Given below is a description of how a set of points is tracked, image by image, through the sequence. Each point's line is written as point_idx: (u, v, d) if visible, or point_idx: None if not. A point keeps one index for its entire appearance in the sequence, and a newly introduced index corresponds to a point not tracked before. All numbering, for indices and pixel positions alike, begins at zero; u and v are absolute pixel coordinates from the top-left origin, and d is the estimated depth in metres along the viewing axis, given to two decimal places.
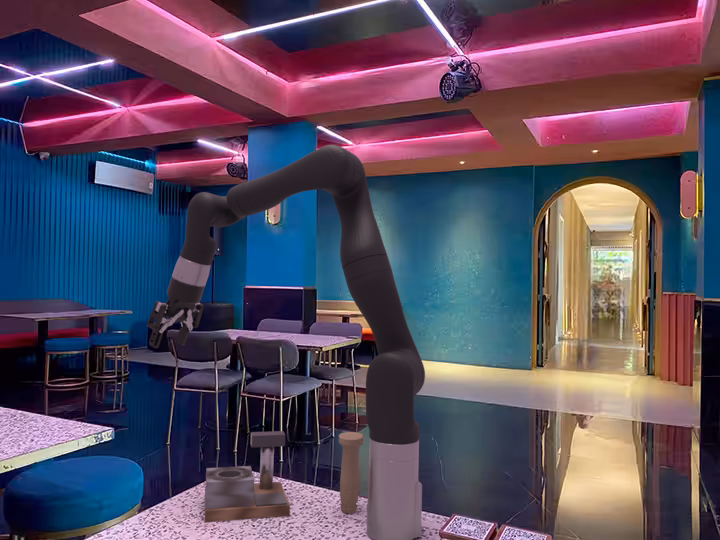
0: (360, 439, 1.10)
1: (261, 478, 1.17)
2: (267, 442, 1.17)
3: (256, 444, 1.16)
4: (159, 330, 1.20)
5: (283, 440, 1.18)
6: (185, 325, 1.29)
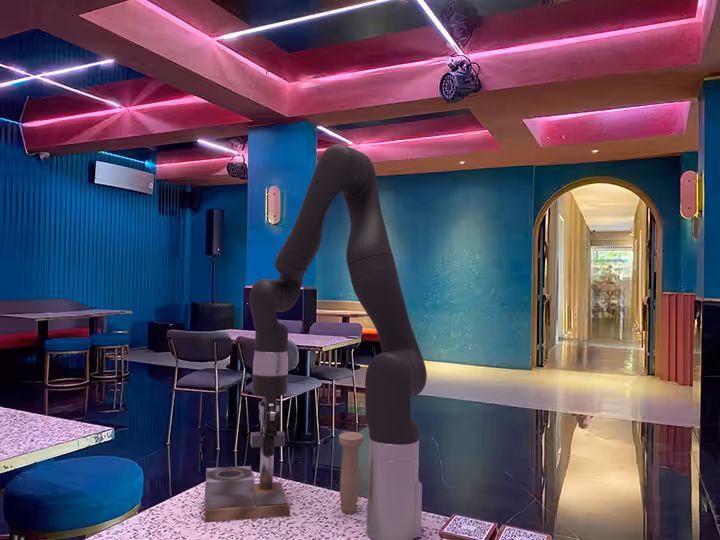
0: (360, 439, 1.10)
1: (261, 478, 1.17)
2: None
3: (256, 444, 1.16)
4: None
5: (283, 440, 1.18)
6: None
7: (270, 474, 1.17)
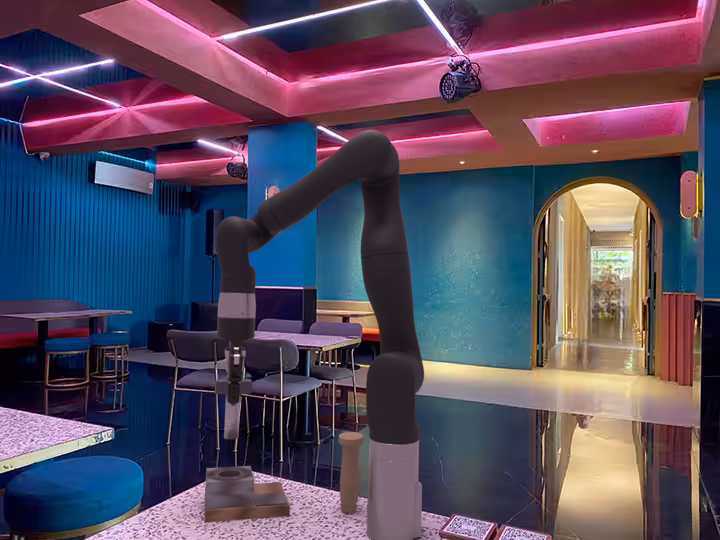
0: (360, 439, 1.10)
1: (226, 427, 1.10)
2: None
3: (220, 391, 1.09)
4: None
5: (249, 387, 1.11)
6: (232, 375, 1.13)
7: (235, 423, 1.10)
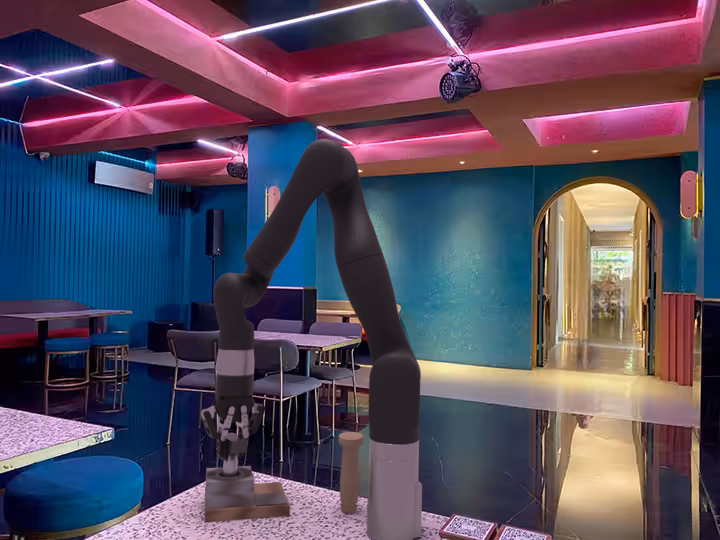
0: (360, 439, 1.10)
1: None
2: None
3: None
4: (220, 438, 1.09)
5: (231, 447, 1.08)
6: (241, 431, 1.13)
7: None
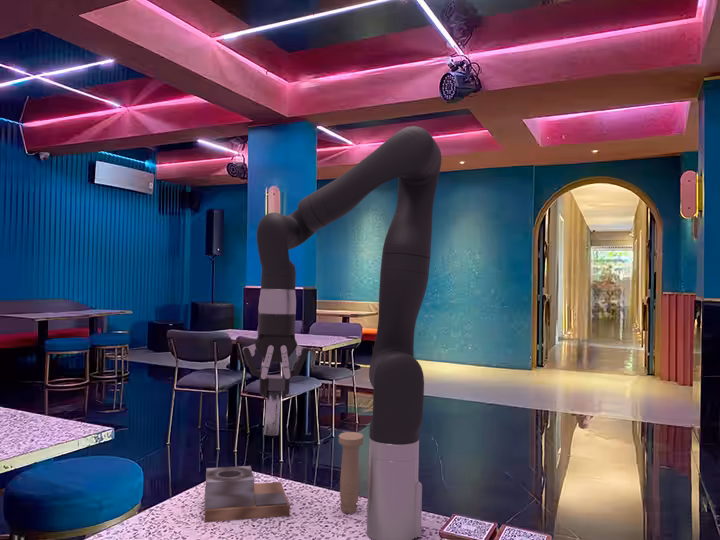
0: (360, 439, 1.10)
1: None
2: None
3: None
4: (260, 376, 1.10)
5: (268, 384, 1.08)
6: None
7: (266, 419, 1.10)
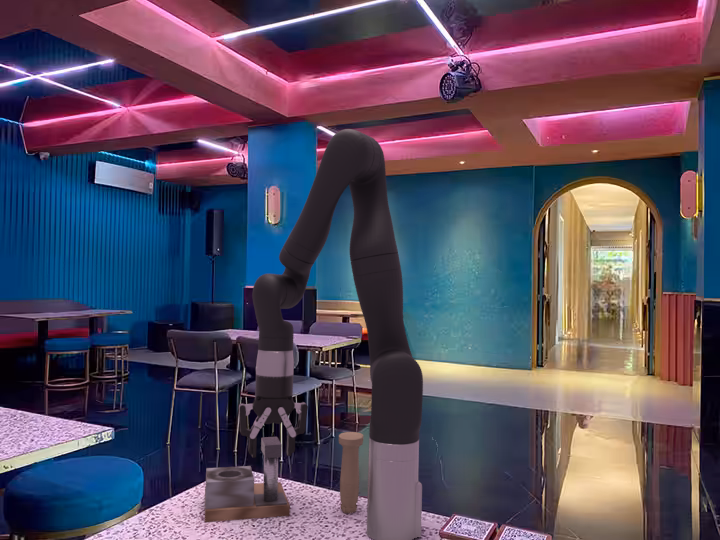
0: (360, 439, 1.10)
1: None
2: (262, 448, 1.11)
3: (261, 447, 1.13)
4: (250, 435, 1.09)
5: (264, 451, 1.07)
6: None
7: (265, 484, 1.09)
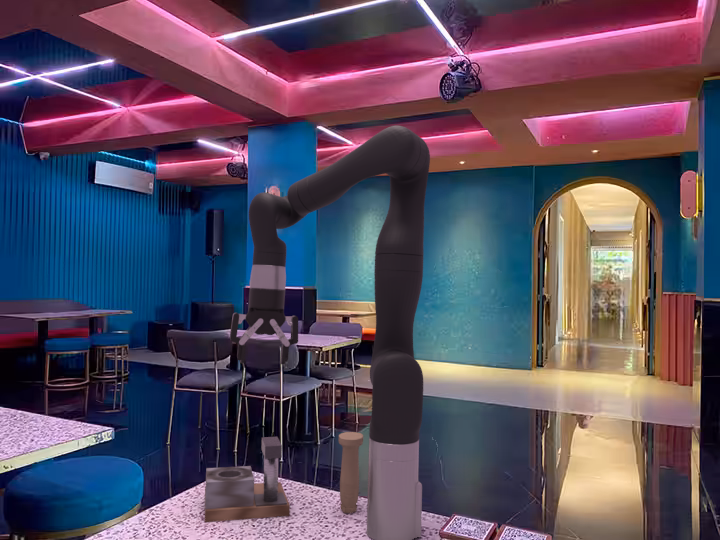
0: (360, 439, 1.10)
1: None
2: (263, 449, 1.10)
3: (262, 447, 1.13)
4: (239, 342, 1.15)
5: (264, 452, 1.07)
6: None
7: (265, 485, 1.09)
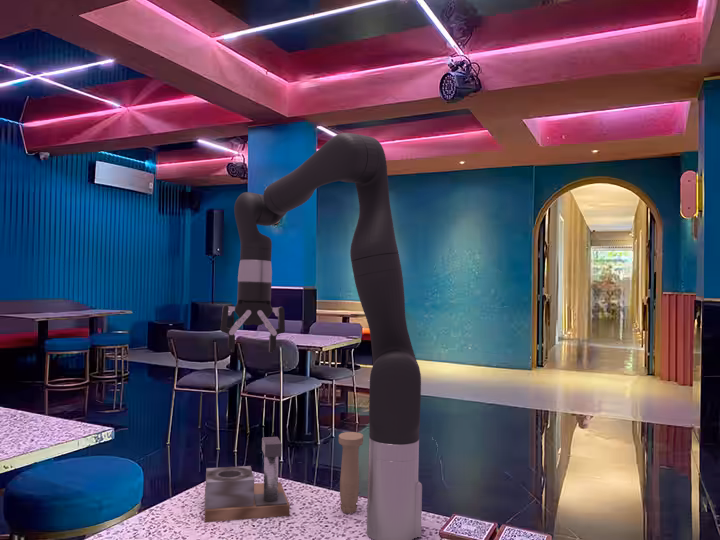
0: (360, 439, 1.10)
1: None
2: (263, 448, 1.11)
3: (262, 447, 1.13)
4: (229, 332, 1.23)
5: (264, 450, 1.08)
6: None
7: (265, 484, 1.09)
